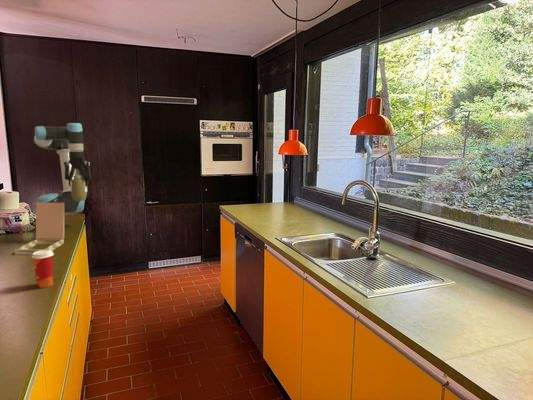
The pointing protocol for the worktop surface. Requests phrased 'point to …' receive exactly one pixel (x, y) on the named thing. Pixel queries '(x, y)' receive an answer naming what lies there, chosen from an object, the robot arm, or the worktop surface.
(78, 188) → the squeeze bottle
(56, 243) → the frame
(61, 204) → the lid
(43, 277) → the paper cup
